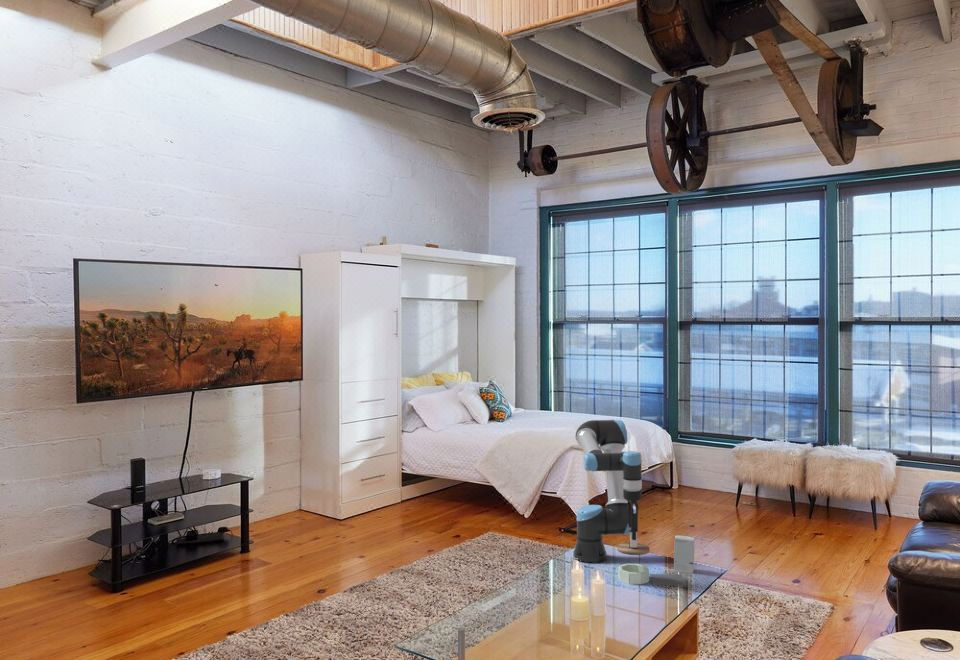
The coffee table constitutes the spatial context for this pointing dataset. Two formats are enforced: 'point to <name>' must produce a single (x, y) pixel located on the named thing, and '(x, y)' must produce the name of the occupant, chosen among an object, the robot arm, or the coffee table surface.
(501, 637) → the coffee table surface
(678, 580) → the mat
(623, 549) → the lid
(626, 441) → the robot arm
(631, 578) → the bowl
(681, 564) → the skincare box
